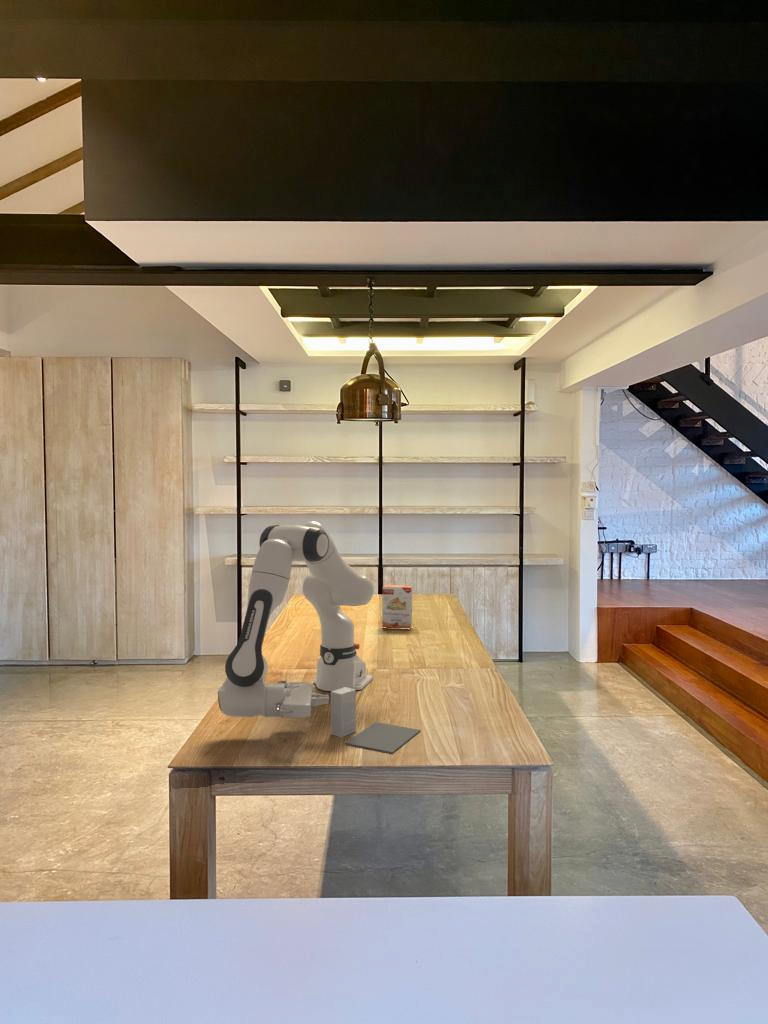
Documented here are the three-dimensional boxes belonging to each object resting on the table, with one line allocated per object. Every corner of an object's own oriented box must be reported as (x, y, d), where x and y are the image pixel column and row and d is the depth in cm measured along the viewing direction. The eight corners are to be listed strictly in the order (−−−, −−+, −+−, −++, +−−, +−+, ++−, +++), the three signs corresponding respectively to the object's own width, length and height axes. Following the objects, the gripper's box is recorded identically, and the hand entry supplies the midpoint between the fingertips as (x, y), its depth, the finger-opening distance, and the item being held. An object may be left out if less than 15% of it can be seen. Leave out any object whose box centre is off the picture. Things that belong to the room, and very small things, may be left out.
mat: (375, 723, 195) (375, 722, 195) (420, 731, 189) (420, 729, 189) (344, 744, 179) (344, 742, 179) (392, 753, 173) (392, 752, 173)
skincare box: (345, 728, 191) (345, 686, 191) (356, 731, 188) (356, 689, 188) (330, 734, 186) (330, 691, 186) (341, 738, 184) (341, 694, 183)
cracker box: (381, 629, 327) (382, 586, 327) (384, 626, 333) (384, 584, 333) (410, 630, 325) (411, 587, 324) (412, 628, 331) (412, 585, 330)
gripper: (274, 700, 175) (328, 699, 176) (281, 678, 196) (329, 677, 197) (274, 724, 176) (328, 723, 177) (281, 700, 196) (329, 699, 197)
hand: (328, 699), depth 187 cm, fingers closed
